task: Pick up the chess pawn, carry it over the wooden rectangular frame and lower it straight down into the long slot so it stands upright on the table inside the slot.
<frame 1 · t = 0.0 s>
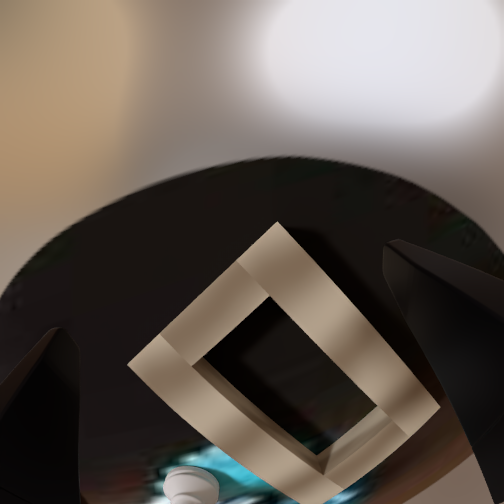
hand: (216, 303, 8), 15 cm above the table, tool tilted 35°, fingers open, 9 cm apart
chess pawn: (193, 482, 23), on the table
wooden rectangular frame: (295, 384, 23), on the table
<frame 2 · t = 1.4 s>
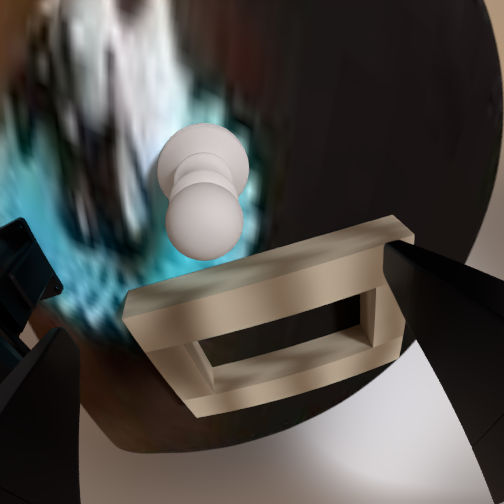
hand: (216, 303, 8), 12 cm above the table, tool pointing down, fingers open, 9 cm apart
chess pawn: (202, 163, 18), on the table
wooden rectangular frame: (280, 322, 25), on the table
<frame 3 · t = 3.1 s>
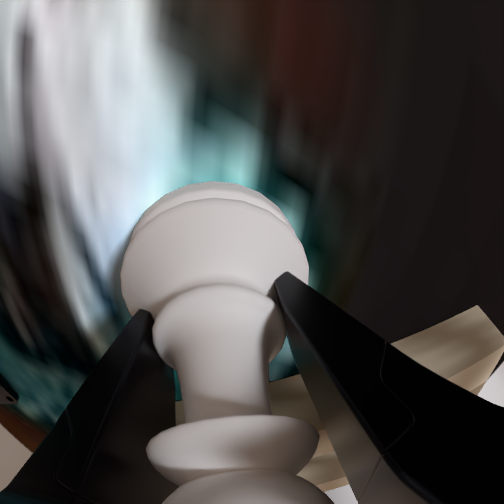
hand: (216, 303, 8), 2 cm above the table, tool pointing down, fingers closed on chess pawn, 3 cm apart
chess pawn: (212, 255, 10), on the table, touching gripper
wooden rectangular frame: (312, 430, 17), on the table
when the fingers open (3 cm above the table, at t = 7.2 s): chess pawn drops 1 cm, resting in wooden rectangular frame.
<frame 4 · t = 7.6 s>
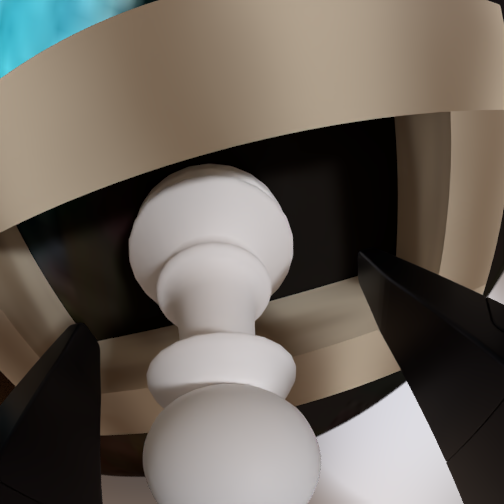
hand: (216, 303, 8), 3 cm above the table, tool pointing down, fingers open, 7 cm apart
chess pawn: (209, 230, 11), resting in wooden rectangular frame
wooden rectangular frame: (212, 236, 11), on the table
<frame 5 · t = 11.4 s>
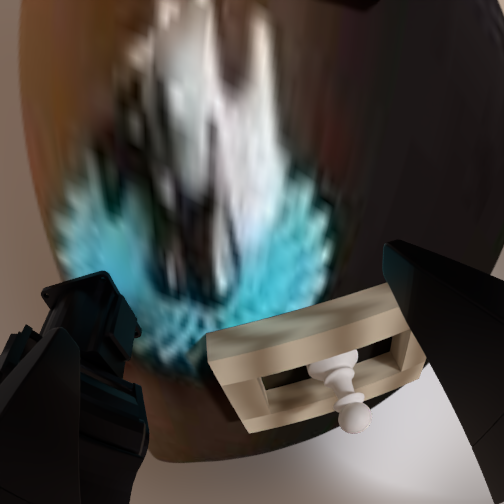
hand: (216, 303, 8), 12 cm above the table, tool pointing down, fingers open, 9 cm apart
chess pawn: (328, 350, 29), resting in wooden rectangular frame
wooden rectangular frame: (329, 352, 29), on the table
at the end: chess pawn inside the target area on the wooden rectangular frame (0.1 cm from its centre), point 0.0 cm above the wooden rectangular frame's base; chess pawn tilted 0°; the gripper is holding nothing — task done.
